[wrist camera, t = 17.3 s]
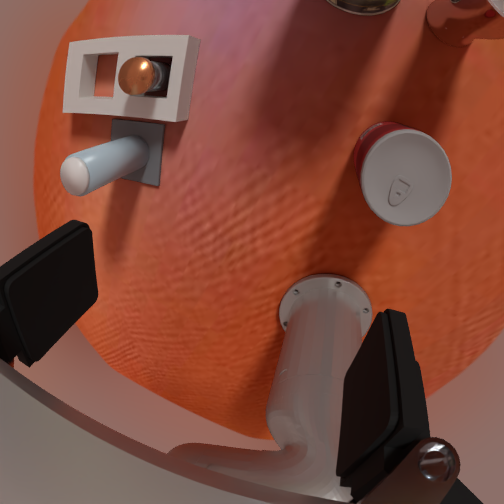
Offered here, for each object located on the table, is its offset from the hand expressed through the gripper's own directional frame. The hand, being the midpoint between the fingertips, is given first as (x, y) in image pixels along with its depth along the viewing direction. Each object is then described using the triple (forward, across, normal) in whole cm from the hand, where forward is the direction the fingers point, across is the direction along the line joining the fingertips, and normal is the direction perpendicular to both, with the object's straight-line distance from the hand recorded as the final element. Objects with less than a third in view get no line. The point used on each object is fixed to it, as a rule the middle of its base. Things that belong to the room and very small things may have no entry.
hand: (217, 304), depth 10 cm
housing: (+28, +23, -6) cm, 37 cm away
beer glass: (+28, -13, -20) cm, 37 cm away
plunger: (+28, +18, -6) cm, 34 cm away
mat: (+28, +21, +4) cm, 35 cm away
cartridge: (+28, +21, +4) cm, 35 cm away
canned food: (+28, -9, -2) cm, 30 cm away
